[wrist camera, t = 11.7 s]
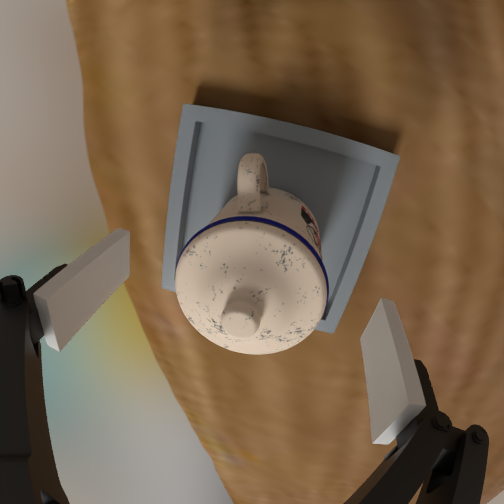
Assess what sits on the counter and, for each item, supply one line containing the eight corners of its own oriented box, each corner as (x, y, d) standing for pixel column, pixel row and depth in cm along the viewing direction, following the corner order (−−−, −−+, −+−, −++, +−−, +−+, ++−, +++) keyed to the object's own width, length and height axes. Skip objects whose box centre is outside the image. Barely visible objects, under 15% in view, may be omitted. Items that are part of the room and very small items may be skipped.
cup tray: (192, 104, 22) (183, 103, 21) (392, 153, 21) (400, 156, 20) (169, 277, 29) (161, 287, 28) (332, 320, 28) (333, 333, 27)
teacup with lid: (320, 287, 27) (323, 390, 16) (218, 284, 28) (172, 376, 18) (323, 145, 22) (342, 170, 11) (205, 149, 23) (127, 178, 13)
